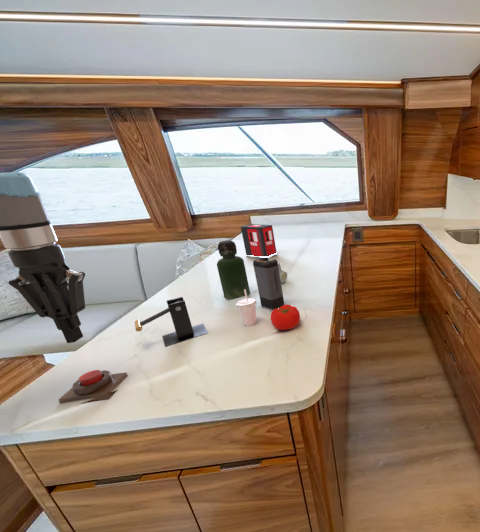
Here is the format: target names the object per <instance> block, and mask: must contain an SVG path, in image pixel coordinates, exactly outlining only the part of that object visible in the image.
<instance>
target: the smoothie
mask: <svg viewBox="0 0 480 532" xmlns="http://www.w3.org/2000/svg"><path fill="white" fill-rule="evenodd" d="M244 292H245V296H244V297H245V298H242V299H239V300H237V302H236V303H235V306H236V308H237V309H238V311H239V314H240V316H241V319H242V322H243V325H244V326H247V327H249V326H253V325H255V324H256V323H257V309H256V308H257V307H256V304H257V300H256V298H254V297H248V295H247V293H246V289H245V290H244Z"/></svg>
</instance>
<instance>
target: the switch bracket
mask: <svg viewBox="0 0 480 532" xmlns="http://www.w3.org/2000/svg"><path fill="white" fill-rule="evenodd" d="M177 300H180V301H179V302H176V303H173V302H175V301H177ZM171 303H172V304H171ZM166 304H167V308H169V310H170V312H169V314H170V317H171V321H172V324H173V327H174V330H175V331H174V332H171V333H167V334H163V335H162V336H161V337H162V340H163V345H164V347H165V348H168V347H170V346H173V345H176V344H179V343H182V342H185V341H189V340H192V339H194V338H198V337H201V336H204V335H207V334H209V331H208V329H207V328H206V326H205V324H204V323H200V324H196V325H194V326H192V321H191V319H190V315H189V311H188V308H187V304H186V301H185V300H184V298H183V296H179V297H176V298H171V299H166Z"/></svg>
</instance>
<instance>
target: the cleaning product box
mask: <svg viewBox="0 0 480 532" xmlns="http://www.w3.org/2000/svg"><path fill="white" fill-rule="evenodd" d="M273 228H274V227H273V225H272V224H254V223H251V224H246V225H242V226H240V230H241V235H242V239H243V244H244V250H245V256H246V255H254V256H269V255H271V254H274V253H276V252H277V246H276V240H275V234H274V229H273Z"/></svg>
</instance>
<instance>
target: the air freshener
mask: <svg viewBox="0 0 480 532" xmlns="http://www.w3.org/2000/svg"><path fill="white" fill-rule="evenodd" d="M277 262H278V268H279V274H280V280H281V284H283V283H284V282H285V281H286V280H287V279H288V272H287V271H285V270H283V269H282V265H281V262H279V261H277ZM282 282H283V283H282Z"/></svg>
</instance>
